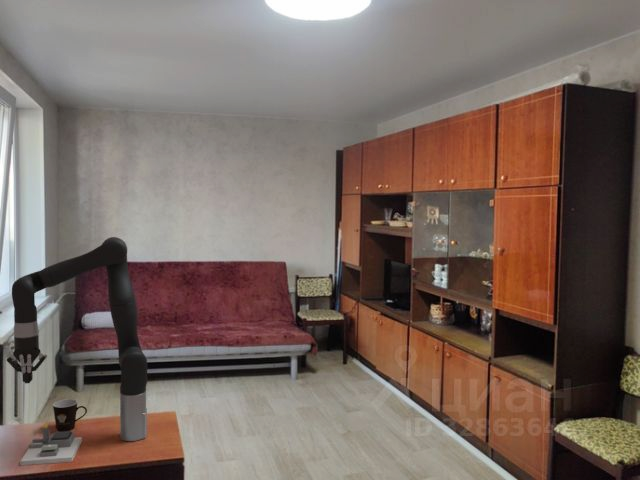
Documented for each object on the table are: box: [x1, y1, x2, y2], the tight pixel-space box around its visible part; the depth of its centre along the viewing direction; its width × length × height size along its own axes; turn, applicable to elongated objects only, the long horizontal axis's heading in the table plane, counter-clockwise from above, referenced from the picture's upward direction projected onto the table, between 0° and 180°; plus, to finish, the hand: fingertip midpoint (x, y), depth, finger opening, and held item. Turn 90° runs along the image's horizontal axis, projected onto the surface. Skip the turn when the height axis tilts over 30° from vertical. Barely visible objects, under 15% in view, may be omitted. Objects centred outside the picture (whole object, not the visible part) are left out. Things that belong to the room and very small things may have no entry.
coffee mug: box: [52, 398, 88, 432], centre depth 213 cm, size 12×9×10 cm
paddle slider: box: [42, 421, 50, 444], centre depth 197 cm, size 2×3×7 cm, turn 12°
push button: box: [52, 430, 72, 441], centre depth 198 cm, size 5×5×3 cm
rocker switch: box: [41, 444, 57, 450], centre depth 190 cm, size 4×3×1 cm, turn 102°
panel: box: [20, 431, 83, 466], centre depth 194 cm, size 16×16×4 cm
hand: (27, 382), depth 194 cm, fingers closed
